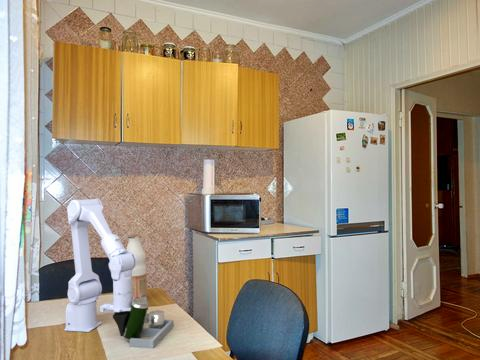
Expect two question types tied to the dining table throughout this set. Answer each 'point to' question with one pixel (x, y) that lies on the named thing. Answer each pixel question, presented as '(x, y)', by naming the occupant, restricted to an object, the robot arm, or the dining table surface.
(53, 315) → the dining table surface
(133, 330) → the beer can
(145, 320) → the button housing
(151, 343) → the grey piece
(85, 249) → the robot arm
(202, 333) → the dining table surface
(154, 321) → the metal billet
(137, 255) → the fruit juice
